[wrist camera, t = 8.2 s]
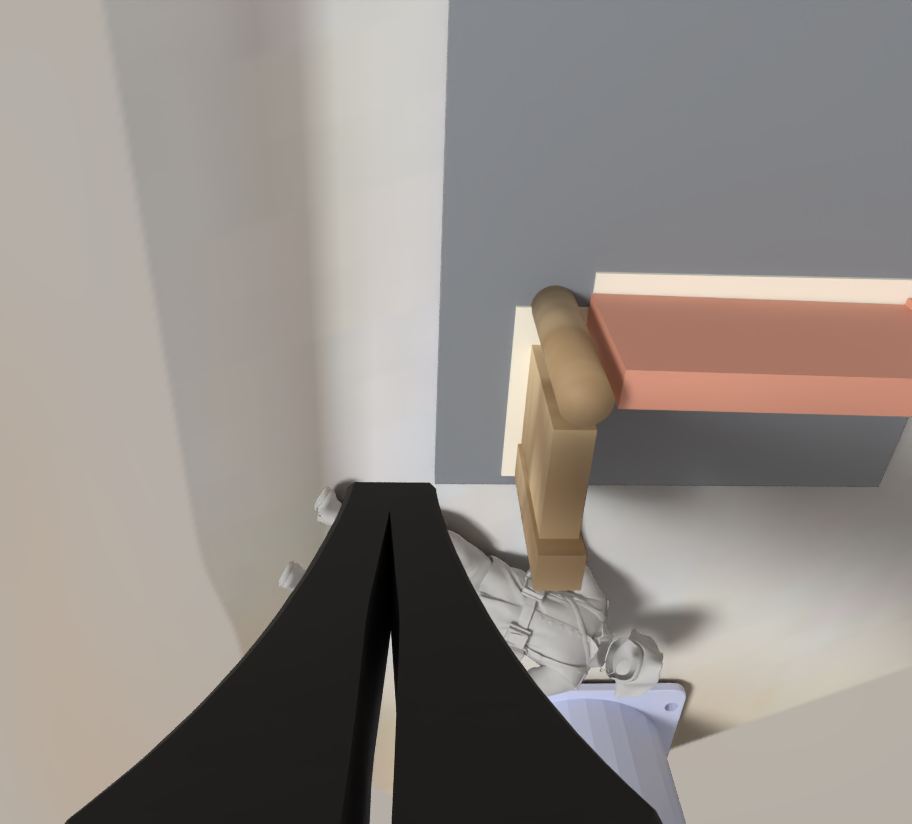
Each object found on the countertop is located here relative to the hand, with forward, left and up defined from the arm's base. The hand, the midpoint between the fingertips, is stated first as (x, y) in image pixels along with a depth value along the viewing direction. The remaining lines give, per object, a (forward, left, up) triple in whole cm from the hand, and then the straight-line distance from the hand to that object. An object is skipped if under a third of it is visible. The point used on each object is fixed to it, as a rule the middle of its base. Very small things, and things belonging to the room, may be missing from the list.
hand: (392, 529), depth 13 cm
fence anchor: (-3, -4, -9) cm, 10 cm away
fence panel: (0, -10, -9) cm, 13 cm away
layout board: (+2, -8, -9) cm, 13 cm away
